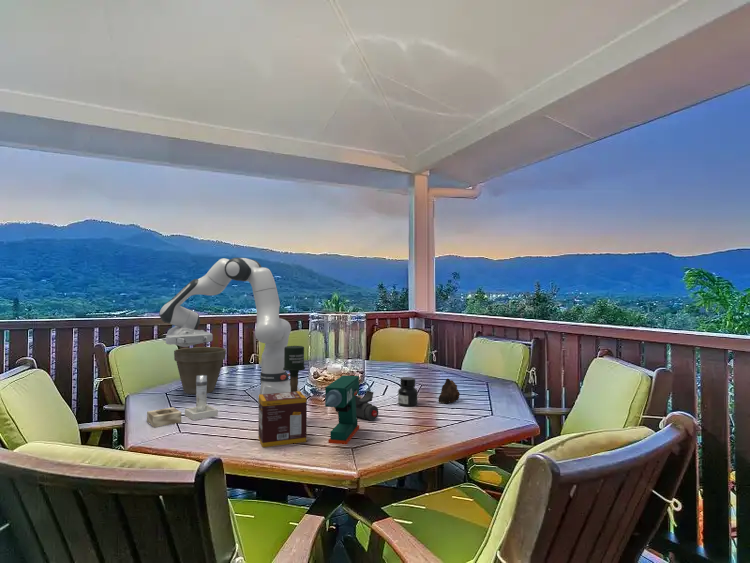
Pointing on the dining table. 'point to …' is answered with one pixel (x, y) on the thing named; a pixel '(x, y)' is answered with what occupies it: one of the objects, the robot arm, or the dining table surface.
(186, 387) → the plant pot
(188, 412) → the tray
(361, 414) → the laser sight
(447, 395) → the decorative rock
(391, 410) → the dining table surface
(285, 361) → the stick grenade
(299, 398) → the supplement box
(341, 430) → the power tool
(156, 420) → the socket block
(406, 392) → the ink bottle
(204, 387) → the collared metal peg
